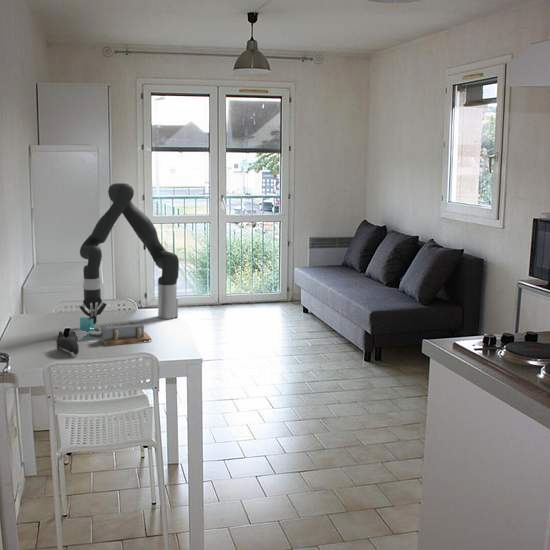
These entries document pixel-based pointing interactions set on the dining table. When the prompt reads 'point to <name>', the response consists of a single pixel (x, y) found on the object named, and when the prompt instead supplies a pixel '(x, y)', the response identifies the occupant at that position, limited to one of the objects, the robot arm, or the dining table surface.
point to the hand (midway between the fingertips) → (93, 324)
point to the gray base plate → (90, 337)
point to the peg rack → (127, 339)
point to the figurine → (67, 344)
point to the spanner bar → (121, 331)
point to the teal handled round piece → (89, 326)
